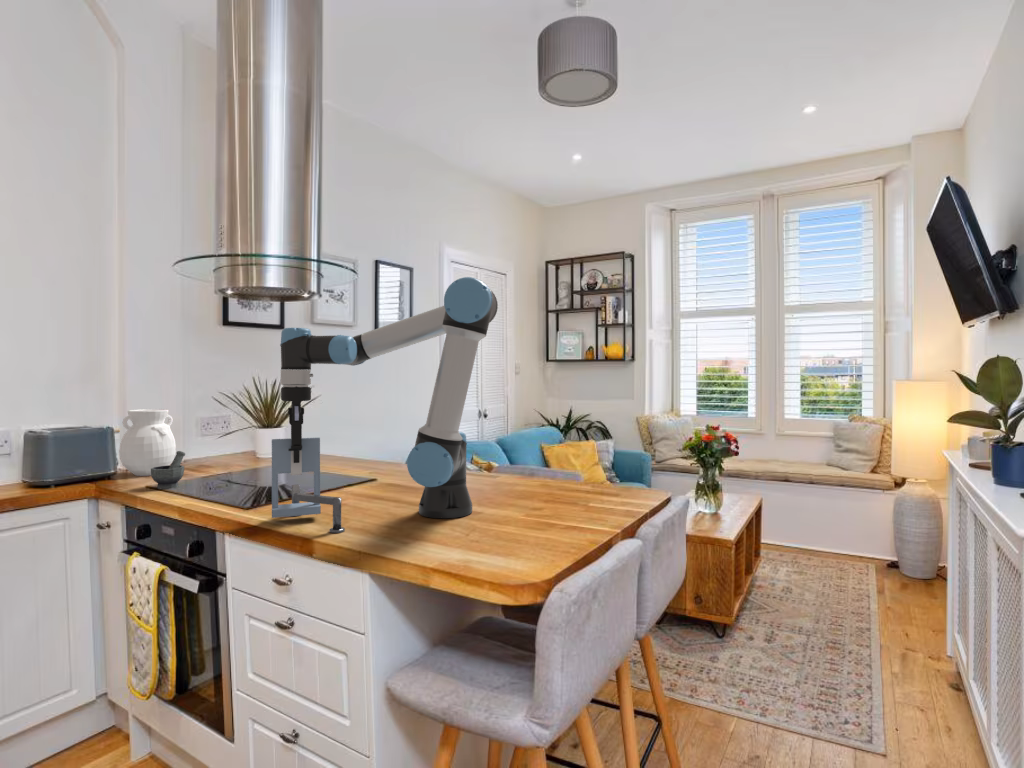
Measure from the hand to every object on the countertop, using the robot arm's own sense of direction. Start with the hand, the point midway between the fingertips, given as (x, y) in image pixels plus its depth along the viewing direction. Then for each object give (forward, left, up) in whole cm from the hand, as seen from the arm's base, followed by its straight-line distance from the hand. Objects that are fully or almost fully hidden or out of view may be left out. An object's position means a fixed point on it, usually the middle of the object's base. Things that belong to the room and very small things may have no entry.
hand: (296, 474), depth 151 cm
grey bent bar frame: (-6, 0, -12) cm, 14 cm away
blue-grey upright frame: (0, 0, -11) cm, 11 cm away
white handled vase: (+104, -31, -13) cm, 109 cm away
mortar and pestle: (+73, -17, -13) cm, 76 cm away
